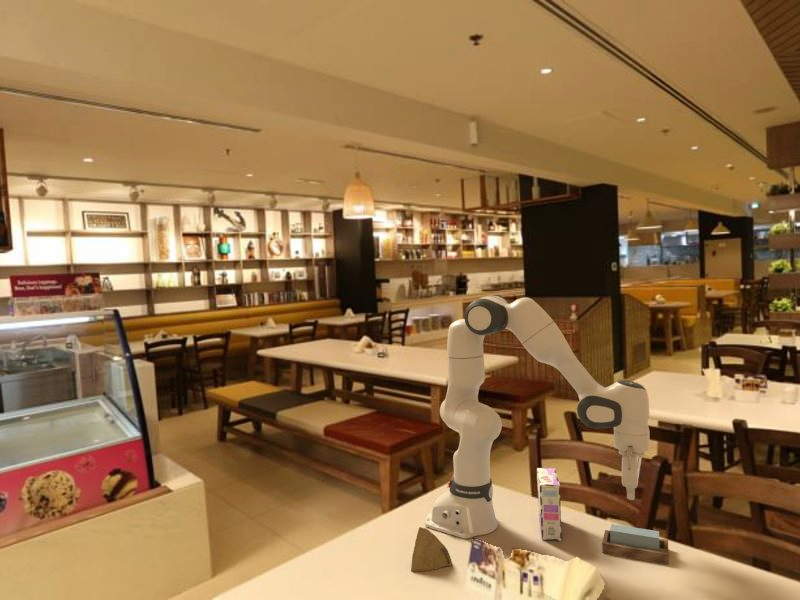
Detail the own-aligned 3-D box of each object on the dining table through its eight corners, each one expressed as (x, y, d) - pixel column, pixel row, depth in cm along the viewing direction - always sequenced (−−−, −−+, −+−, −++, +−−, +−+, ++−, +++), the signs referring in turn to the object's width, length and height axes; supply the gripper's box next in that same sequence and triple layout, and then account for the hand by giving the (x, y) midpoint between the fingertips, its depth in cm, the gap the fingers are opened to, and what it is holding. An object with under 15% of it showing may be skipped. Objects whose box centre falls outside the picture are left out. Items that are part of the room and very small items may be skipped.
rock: (458, 549, 143) (424, 538, 148) (454, 534, 138) (419, 523, 142) (445, 589, 136) (410, 576, 140) (440, 575, 131) (404, 562, 135)
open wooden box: (602, 552, 142) (601, 537, 142) (605, 538, 149) (604, 524, 149) (668, 564, 135) (668, 548, 134) (668, 549, 142) (667, 534, 142)
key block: (659, 556, 137) (659, 538, 137) (610, 548, 143) (609, 530, 142) (659, 549, 141) (659, 531, 141) (611, 541, 146) (611, 523, 146)
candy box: (562, 541, 149) (560, 485, 148) (541, 540, 150) (539, 484, 149) (558, 519, 162) (555, 467, 161) (538, 518, 163) (536, 466, 163)
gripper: (642, 454, 130) (643, 509, 130) (645, 432, 148) (646, 480, 148) (615, 451, 133) (616, 505, 133) (621, 430, 151) (622, 477, 151)
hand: (632, 492), depth 141 cm, fingers open, 8 cm apart
